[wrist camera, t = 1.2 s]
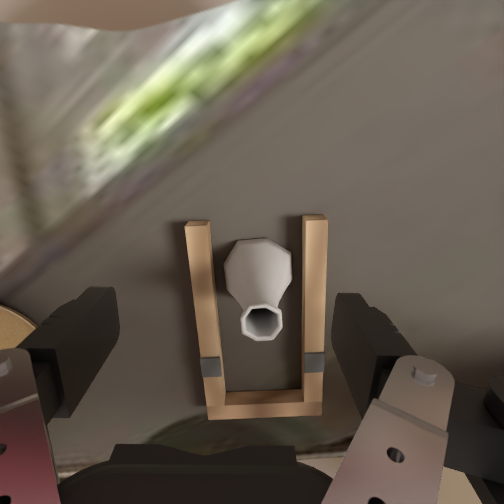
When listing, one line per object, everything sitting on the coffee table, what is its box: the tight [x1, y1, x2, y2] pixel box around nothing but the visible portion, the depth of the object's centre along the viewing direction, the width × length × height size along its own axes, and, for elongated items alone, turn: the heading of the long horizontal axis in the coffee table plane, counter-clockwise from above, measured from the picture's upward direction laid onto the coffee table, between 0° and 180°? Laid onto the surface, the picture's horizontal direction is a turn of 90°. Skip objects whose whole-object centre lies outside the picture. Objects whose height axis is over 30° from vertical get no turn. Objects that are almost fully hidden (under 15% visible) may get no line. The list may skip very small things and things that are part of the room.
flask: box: [223, 238, 292, 341], centre depth 28 cm, size 7×7×10 cm
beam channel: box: [185, 215, 328, 420], centre depth 34 cm, size 13×23×2 cm, turn 3°
